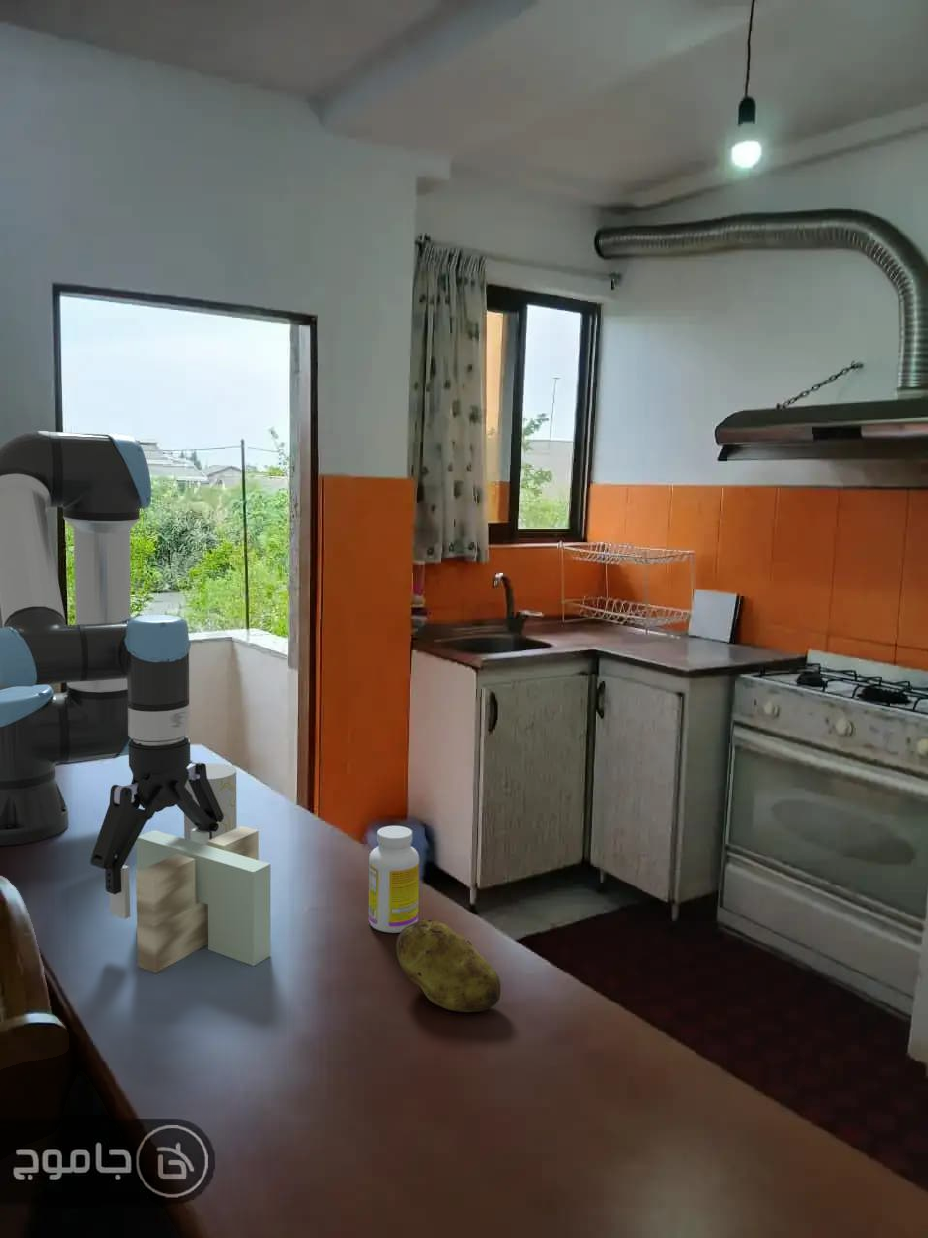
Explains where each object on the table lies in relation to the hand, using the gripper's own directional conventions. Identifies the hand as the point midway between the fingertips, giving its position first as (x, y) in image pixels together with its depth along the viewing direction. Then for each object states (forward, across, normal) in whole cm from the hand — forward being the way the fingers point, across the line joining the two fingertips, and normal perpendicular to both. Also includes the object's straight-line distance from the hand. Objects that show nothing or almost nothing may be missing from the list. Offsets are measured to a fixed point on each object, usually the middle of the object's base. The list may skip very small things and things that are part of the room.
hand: (162, 895), depth 122 cm
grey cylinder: (+4, +24, +15) cm, 29 cm away
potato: (+4, +5, -40) cm, 41 cm away
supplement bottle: (+4, +17, -25) cm, 31 cm away
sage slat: (+4, 0, -7) cm, 8 cm away
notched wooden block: (+4, 0, -7) cm, 8 cm away
